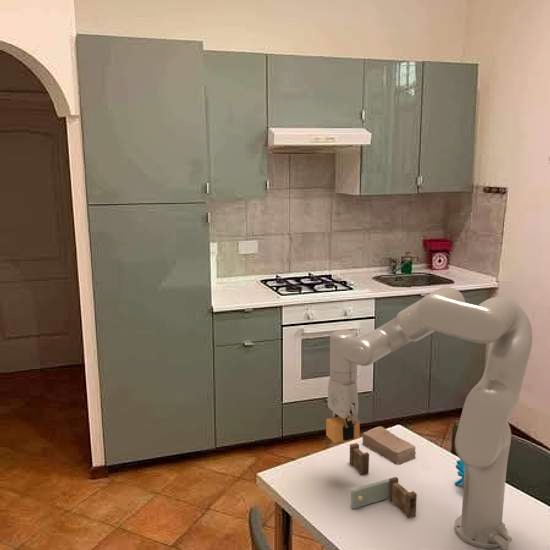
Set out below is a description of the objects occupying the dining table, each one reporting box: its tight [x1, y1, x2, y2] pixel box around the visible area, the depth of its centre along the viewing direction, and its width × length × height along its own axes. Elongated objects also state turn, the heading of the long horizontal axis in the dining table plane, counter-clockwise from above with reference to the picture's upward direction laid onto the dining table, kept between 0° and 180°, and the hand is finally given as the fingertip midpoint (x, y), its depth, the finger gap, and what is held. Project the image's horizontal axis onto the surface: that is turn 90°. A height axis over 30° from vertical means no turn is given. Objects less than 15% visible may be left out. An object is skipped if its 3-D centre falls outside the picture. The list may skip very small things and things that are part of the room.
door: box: [350, 478, 390, 509], centre depth 157 cm, size 13×2×5 cm, turn 115°
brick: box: [362, 426, 417, 465], centre depth 186 cm, size 17×8×5 cm, turn 34°
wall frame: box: [349, 442, 418, 519], centre depth 164 cm, size 30×2×6 cm, turn 23°
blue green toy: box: [454, 459, 465, 487], centre depth 165 cm, size 11×6×10 cm
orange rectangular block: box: [325, 413, 361, 444], centre depth 165 cm, size 5×8×5 cm, turn 113°
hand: (343, 434), depth 166 cm, fingers closed on orange rectangular block, 4 cm apart
